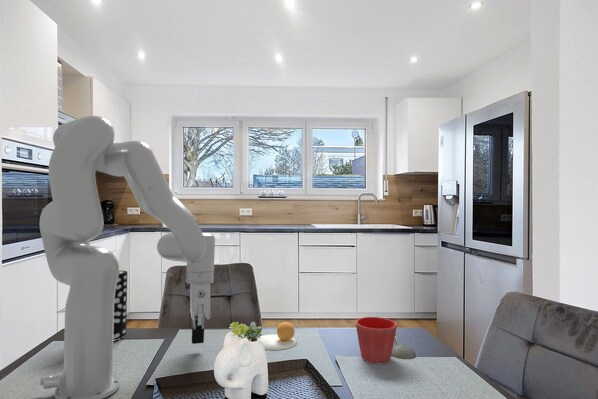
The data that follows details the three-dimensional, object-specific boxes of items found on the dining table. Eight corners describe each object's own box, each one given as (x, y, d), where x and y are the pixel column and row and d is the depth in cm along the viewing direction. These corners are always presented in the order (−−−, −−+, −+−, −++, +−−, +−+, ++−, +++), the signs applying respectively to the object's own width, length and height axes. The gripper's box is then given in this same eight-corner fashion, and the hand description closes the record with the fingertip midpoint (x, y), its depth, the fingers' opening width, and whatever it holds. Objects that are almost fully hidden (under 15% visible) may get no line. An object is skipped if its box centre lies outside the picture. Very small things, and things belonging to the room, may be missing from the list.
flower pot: (397, 368, 97) (397, 329, 97) (354, 364, 99) (354, 326, 100) (395, 352, 108) (395, 318, 108) (356, 349, 110) (356, 315, 110)
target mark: (258, 352, 107) (258, 351, 107) (249, 337, 119) (249, 336, 119) (302, 347, 111) (302, 346, 111) (288, 333, 123) (288, 332, 123)
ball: (300, 332, 116) (288, 347, 114) (294, 327, 121) (282, 341, 119) (288, 321, 114) (276, 335, 113) (282, 316, 119) (270, 330, 118)
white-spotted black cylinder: (131, 333, 121) (132, 270, 122) (116, 343, 113) (117, 275, 113) (106, 332, 122) (108, 270, 123) (90, 341, 114) (91, 274, 114)
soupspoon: (391, 363, 103) (416, 366, 102) (392, 351, 103) (417, 353, 102) (382, 333, 125) (403, 335, 124) (383, 323, 125) (403, 325, 124)
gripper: (216, 280, 102) (214, 350, 101) (210, 272, 116) (208, 333, 116) (187, 281, 100) (184, 352, 99) (185, 273, 114) (182, 335, 113)
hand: (197, 342), depth 107 cm, fingers closed
